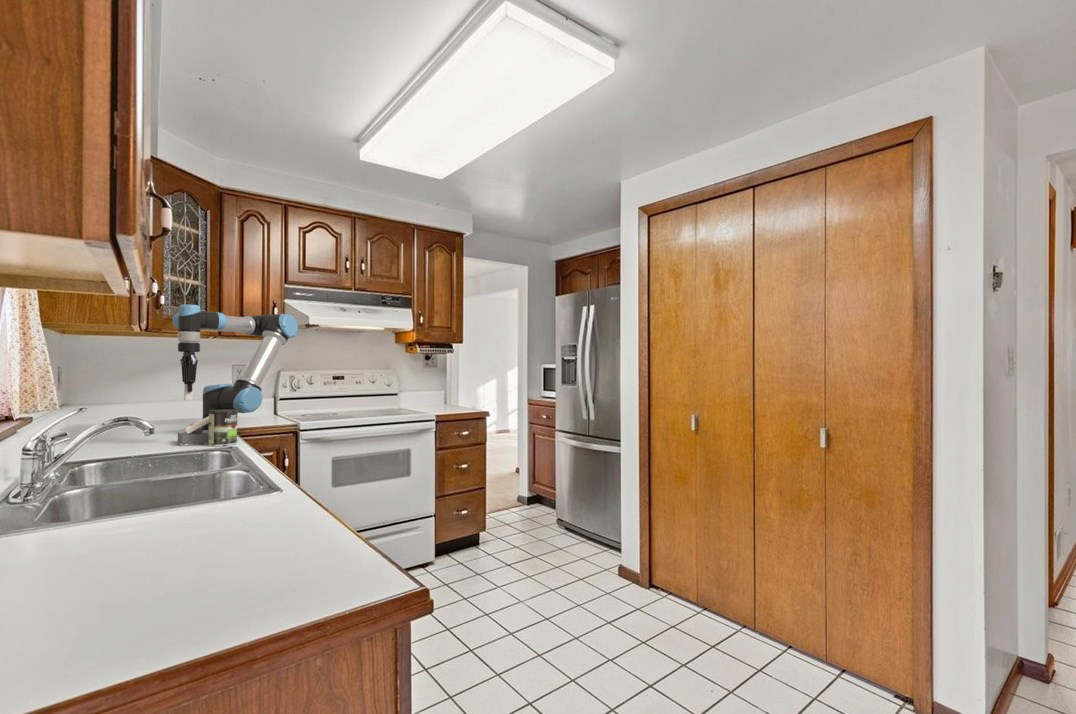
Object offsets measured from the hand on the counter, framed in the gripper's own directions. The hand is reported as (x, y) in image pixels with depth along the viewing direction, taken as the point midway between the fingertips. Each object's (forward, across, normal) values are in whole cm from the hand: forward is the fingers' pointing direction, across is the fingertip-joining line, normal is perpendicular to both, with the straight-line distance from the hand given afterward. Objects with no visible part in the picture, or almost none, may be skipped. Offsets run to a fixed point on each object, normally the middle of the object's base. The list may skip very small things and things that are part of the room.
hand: (188, 399), depth 215 cm
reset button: (+15, -5, +4) cm, 16 cm away
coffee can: (+19, +12, +9) cm, 24 cm away
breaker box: (+18, -2, +4) cm, 19 cm away
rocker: (+11, +1, +3) cm, 11 cm away
